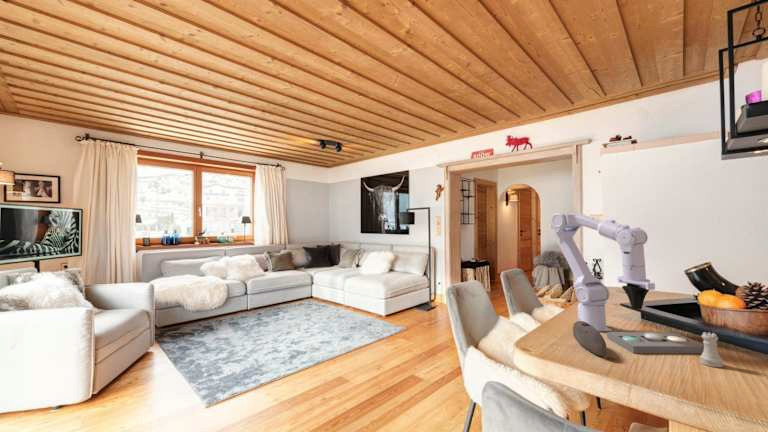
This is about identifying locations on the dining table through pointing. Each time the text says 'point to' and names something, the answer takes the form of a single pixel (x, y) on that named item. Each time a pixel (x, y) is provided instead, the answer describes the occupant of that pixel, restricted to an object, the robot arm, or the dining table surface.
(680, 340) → the cream button
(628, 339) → the teal button
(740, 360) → the dining table surface
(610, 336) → the button board
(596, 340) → the perforated stone tool
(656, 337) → the grey button
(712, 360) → the rook chess piece
